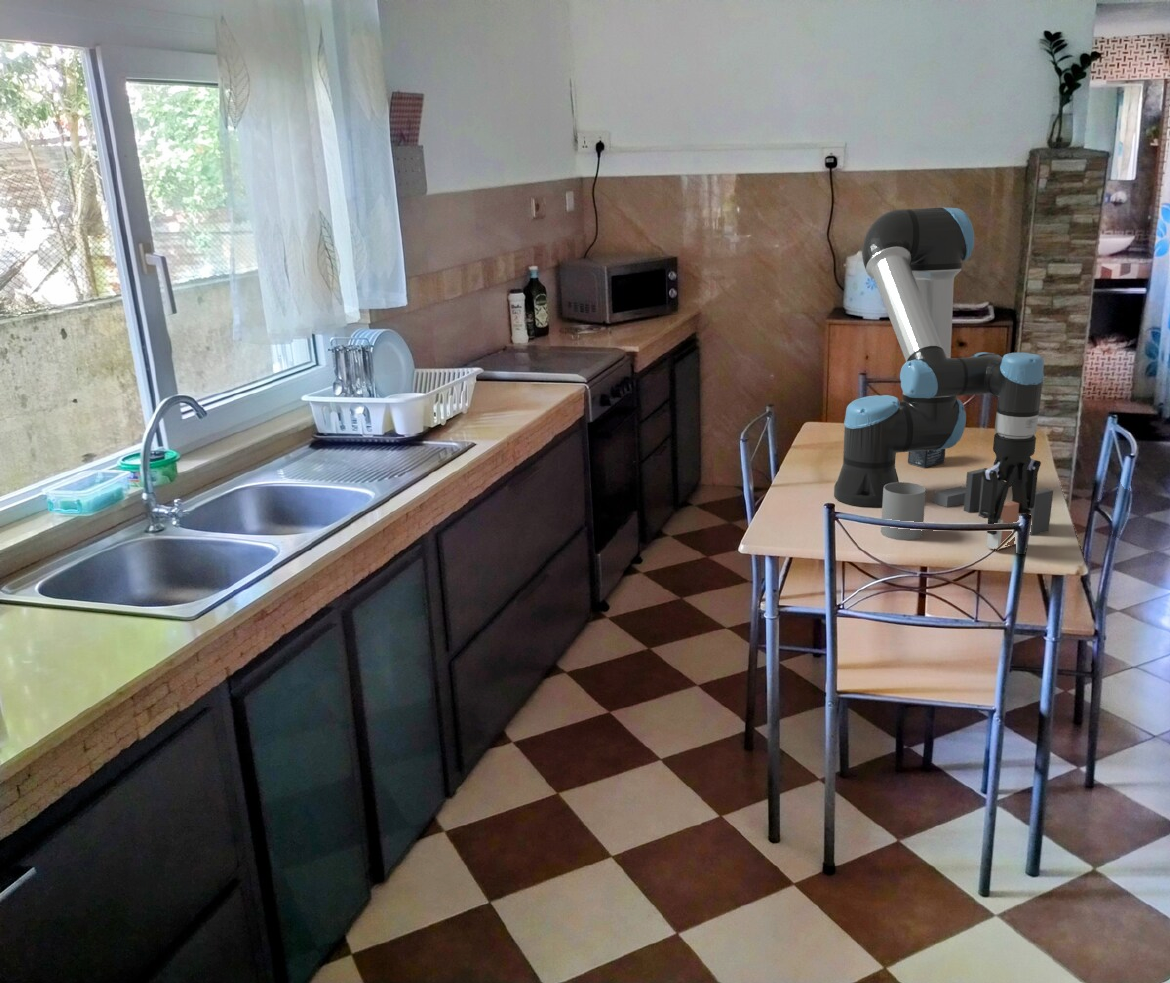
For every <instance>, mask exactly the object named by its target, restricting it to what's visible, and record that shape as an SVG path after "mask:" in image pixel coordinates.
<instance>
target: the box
mask: <svg viewBox="0 0 1170 983" xmlns="http://www.w3.org/2000/svg"><path fill="white" fill-rule="evenodd" d="M907 455H908V456H907V464H909V465H912V466H916V467H919V468H923V469H925V468H929V467H931V466H932V467H933V466H937V465H940V464H943V463H945V457H946V449H939V450H937V451H932V450H926V451H911V452H908V453H907Z"/></svg>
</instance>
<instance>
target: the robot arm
mask: <svg viewBox="0 0 1170 983" xmlns="http://www.w3.org/2000/svg"><path fill="white" fill-rule="evenodd" d="M974 247H975V232H974V227H973V223H972V221H971V219H970V218H969V216H968V214H967V213H966V212H965V211H964V210H962V209H960V208H957V207H942V206H940V207H929V208H909V209H906V208H902V209H900V208H899V209H893V210H890V211H887V212H885V213H884V214H882V215H880V216H879V217H878V218H876V220H874V221H873V223H871V225H870V227H869V228H868V230H867V232H866V234H865V236H864V239H863V242H862V250H861V256H862V262H863V266H864V270H865V272H866V274H867V275H868V277H870V278H871V279H873V280H874V281H875V284H876V286H877V288H878V292H879V295H880V296H881V297H880V298H881V300H882V302H883V304H884V308H885V311H886V313H887V315H888V318H889V320H890V322H891V325H892V328H893V330H894V333H895V337H896V338H897V342H898V344H899V346H900V347H899V348H900V350H901V353H902V355H903V358H904V360H905V363H904V364H903V365H902V366H901V369H900V374H899V380H900V388H901V390H902V401H900V400H899V398H898V397H896V396H894V395H888V394H883V395H877V394H876V395H875V394H874V395H868V396H863V397H860V398H856V399H855V400H853V401H851V402H850V403H849V404H848V405H847V407H846V408H845V410H846V411H845V417H844V421H843V424H844V430H843V432H844V435H843V436H844V437H843V438H844V439H843V454H842V455H843V458H842V459H843V460H842V467H841V469H840V471H839V474H838V478H837V481H836V482H835V484H834V488H833V497H834V498H835V499H836V500H837V501H839V502H841V503H843V504H847V505H851V506H856V507H865V508H867V507H869V508H875V507H876V508H878V507H879V508H880V507H881V508H882V503H883V487H884V486H885V485H886V484H889V483H896V482H900V480H899V477H898V473H897V469H896V457H897V456H896V454H897V453H909V452H911V451H926V450H932V451H937V450H939V449H945V450H946V449H951V448H953V447H954V446H956V444H957V443H958V442H960V440H961V439H962V436H963V435H964V433H965V428H966V423H967V412H966V411H965V406H964V403H963V401H962V400H961V399H959V398H957V396H958V397H959V396H960V397H961V396H971V395H973V396H974V395H991V396H994V397H995V398H997V404H996V405H997V406H996V407H997V408H996V414H995V424H994V432H996V433H995V434H994V436H993V437H994V438H993V445H992V451H993V453H995V460H994V462H993V465H992V466H991V467H990V468H987V467H984V468H982V469H983V471H982V473H983V479H984V481H983V491H982V500H981V509H980V514H981V515H982V516H985V517H987V524H994V523H1003V519H1001V518H1000V517H1001V513H1002V510H1003V506H1004V503H1006V499H1007V496H1008V495H1007V494H1008V491H1009V489H1010V488H1011V493H1012V494H1011V495H1012V496H1013V501H1014V502H1016V503H1019V511H1018V519H1017V521H1018V520H1019V516H1020V515H1021V514H1023V513H1026V514H1030V512H1031V510H1029V508H1031V509H1032V508H1033V507H1034V504H1035V494H1036V491H1037V483H1038V474H1039V470H1040V468H1041V464H1042V462H1041V461H1040V460H1037V459H1034V458H1031V457H1032V456H1033V455H1035V451H1036V442H1037V437H1036V436H1035V435H1036V434H1037V432H1038V421H1039V414H1040V406H1041V399H1042V391H1043V384H1044V379H1045V375H1044V374H1045V373H1044V367H1045V366H1044V364H1045V361H1044V358H1043V357H1042V356H1041V355H1039V354H1036V353H1029V352H1011V353H1010V352H1009V353H1006V354H1004V355H1003V357H1002V356H1000V354H996V353H992V352H986V351H983V352H977V353H975V354H973V355H972V356H967V357H966V356H965V357H951V352H952V332H953V329H952V328H953V309H954V304H953V303H954V302H953V301H954V287H955V286H954V285H955V284H954V282H955V277H956V276H957V275H958V274H959V273H960V272H961V271H962V267H963V266H962V265H963V262H965V261H967V260H968V259H969V258H970V257H972V253H973V250H974ZM1002 480H1004V481H1002ZM1012 496H1011V497H1012ZM1027 500H1029V501H1027ZM986 533H987V538H986V539H987V540H986V547H987V548H988V549H989V548H990V549H992V550H994V548H995V547H996V546H999V545H1000V544H1001V536H1002V531H987V530H986Z"/></svg>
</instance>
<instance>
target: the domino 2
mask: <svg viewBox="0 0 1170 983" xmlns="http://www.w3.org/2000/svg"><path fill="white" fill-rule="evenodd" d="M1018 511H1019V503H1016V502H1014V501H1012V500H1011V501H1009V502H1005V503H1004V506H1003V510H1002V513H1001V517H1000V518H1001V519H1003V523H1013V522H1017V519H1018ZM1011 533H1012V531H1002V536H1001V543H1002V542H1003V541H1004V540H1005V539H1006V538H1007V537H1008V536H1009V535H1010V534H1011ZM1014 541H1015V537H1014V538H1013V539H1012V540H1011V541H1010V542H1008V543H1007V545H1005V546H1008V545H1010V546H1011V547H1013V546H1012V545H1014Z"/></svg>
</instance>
